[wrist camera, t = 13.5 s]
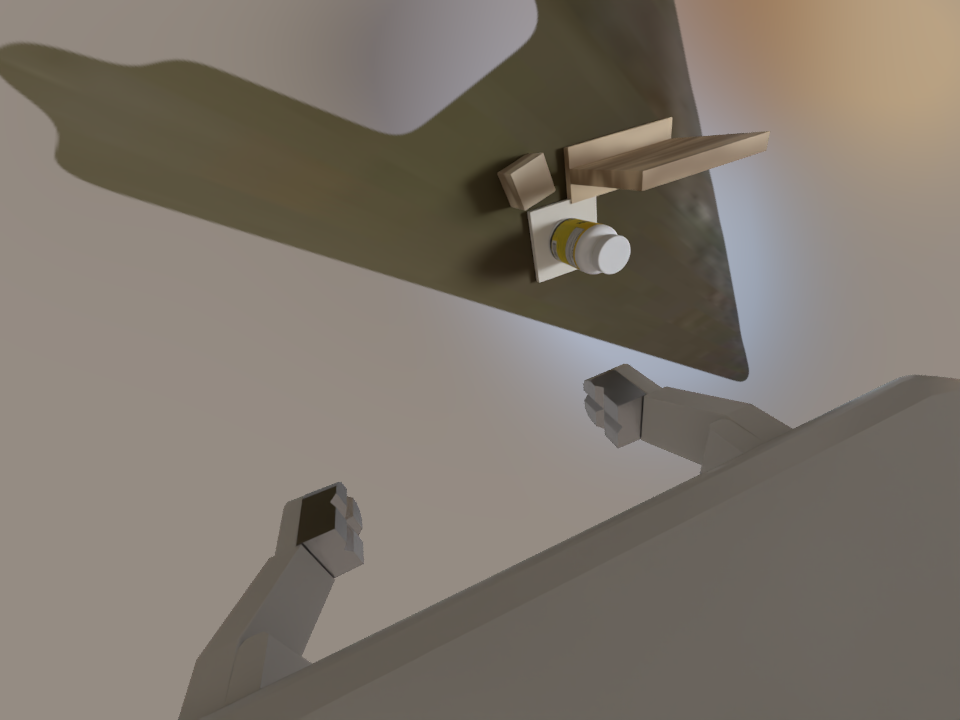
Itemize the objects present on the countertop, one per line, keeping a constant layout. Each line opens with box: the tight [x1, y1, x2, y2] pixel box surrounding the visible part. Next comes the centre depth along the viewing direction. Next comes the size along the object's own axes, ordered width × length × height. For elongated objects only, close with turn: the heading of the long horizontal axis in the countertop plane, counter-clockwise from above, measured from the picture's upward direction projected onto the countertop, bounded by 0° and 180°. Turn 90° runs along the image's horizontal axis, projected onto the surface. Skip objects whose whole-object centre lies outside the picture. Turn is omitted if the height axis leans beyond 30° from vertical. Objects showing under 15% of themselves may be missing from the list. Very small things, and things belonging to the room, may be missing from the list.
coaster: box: [527, 196, 597, 283], centre depth 45 cm, size 9×9×1 cm
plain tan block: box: [497, 153, 556, 210], centre depth 38 cm, size 4×4×4 cm
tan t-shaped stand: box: [564, 117, 770, 204], centre depth 37 cm, size 6×14×13 cm, turn 103°
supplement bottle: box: [548, 218, 630, 274], centre depth 40 cm, size 5×5×10 cm
